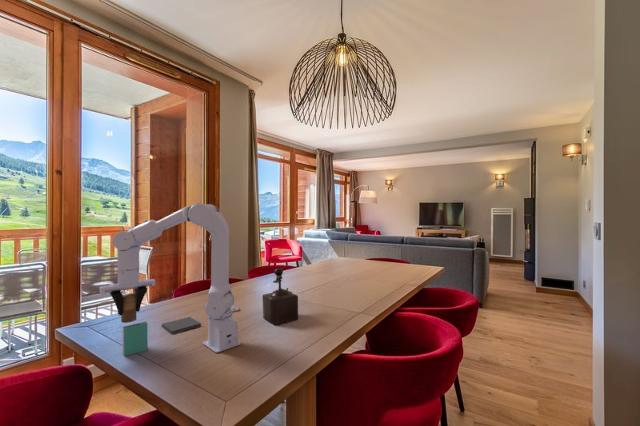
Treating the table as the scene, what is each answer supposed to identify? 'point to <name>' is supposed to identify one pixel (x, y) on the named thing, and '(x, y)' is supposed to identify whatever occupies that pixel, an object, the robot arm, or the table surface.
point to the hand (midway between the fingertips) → (128, 312)
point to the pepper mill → (280, 304)
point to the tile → (135, 338)
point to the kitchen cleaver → (234, 308)
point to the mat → (180, 325)
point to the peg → (128, 308)
